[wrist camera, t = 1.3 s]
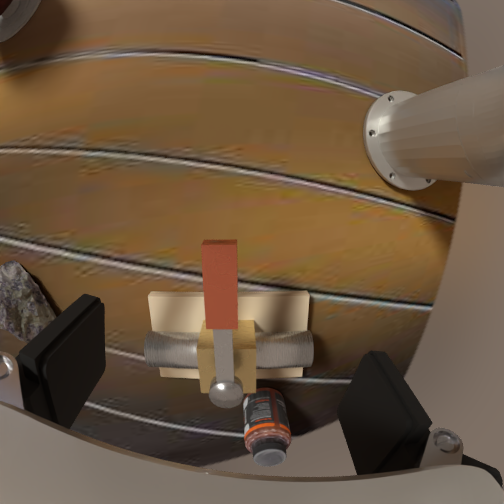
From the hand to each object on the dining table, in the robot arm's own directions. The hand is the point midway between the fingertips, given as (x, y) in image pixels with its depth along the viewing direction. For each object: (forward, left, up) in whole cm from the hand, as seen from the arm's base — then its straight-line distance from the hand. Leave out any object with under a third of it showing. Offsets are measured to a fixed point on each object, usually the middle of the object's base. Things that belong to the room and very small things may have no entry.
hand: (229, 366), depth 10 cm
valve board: (+1, +13, -25) cm, 28 cm away
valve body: (+1, +13, -24) cm, 27 cm away
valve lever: (+1, +7, -15) cm, 17 cm away
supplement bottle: (-3, +25, -25) cm, 36 cm away
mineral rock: (+31, +9, -25) cm, 41 cm away
